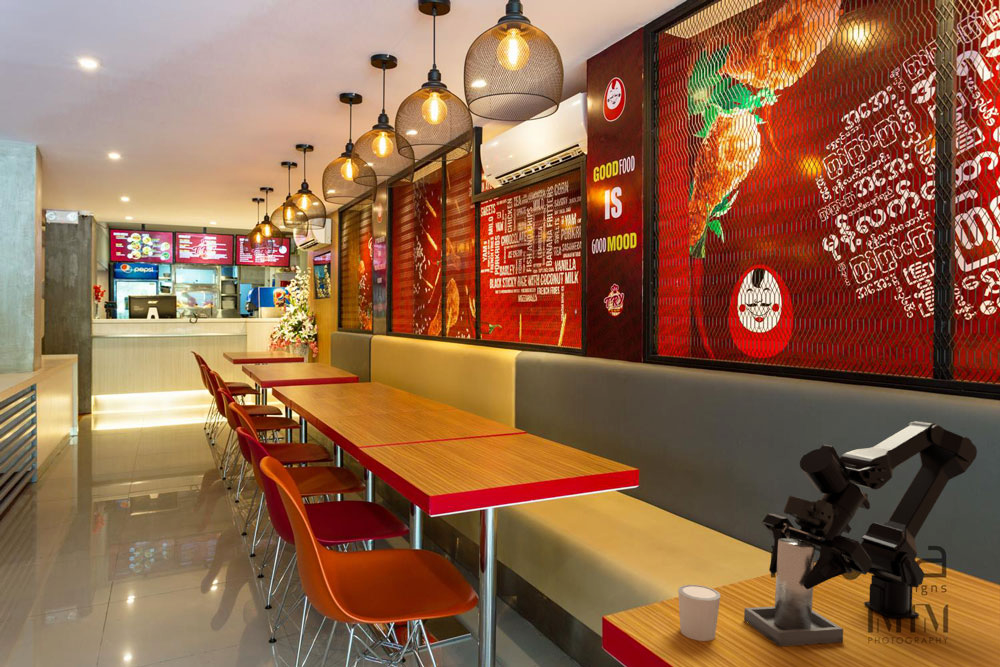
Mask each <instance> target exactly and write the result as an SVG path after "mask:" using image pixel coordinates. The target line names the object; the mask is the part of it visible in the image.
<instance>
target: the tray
mask: <svg viewBox="0 0 1000 667" xmlns="http://www.w3.org/2000/svg"><path fill="white" fill-rule="evenodd" d="M774 613H775V605H774V606H757V607H755V606H754V607H744V616H743V618H744V620H745V621H744V622H746V623H747V622H748V623H749V624H748V623H747V624H748V625H749V626H751V625H752V626H753V627H752V626H751V627H752V628H754V629H755V630H756V629H757V630H756V631H758V632H759V633H760V634H762V636H764V637H765V638H766V639H768V640H770V641H771V642H772V643H774V644H775V645H776V646H778V647H788V646H791V645H793V646H806V645H805V644H807V645H818V643H822V644H833V643H834V644H835V643H836V642H837V643H844V628H842V627H841V626H839V625H838V624H837V623H834V622H833V621H831V620H830V619H828V618H826V617H825V616H823V615H821V614H820V613H818V612H816V611H815V610H813V609H812V619H811V629H795V630H786V629H783V628H781V627H779V626H777V625H776V624H775V623H774ZM837 643H836V644H837ZM802 644H803V645H802Z"/></svg>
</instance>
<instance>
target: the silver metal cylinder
mask: <svg viewBox="0 0 1000 667" xmlns="http://www.w3.org/2000/svg"><path fill="white" fill-rule="evenodd" d="M815 554H816V547H815V545H813V544H811V543H809V542H805V541H801V540H796V539H786V538H784V539H779V540H778V555H777V572H776V574H775V575H776V578H775V579H776V580H775V598H774V606H775V613H774V623H775V624H776V625H777V626H779V627H781V628H783V629H786V630H795V629H811V619H812V610H813V596H814V595H813V594H814V593H813V592H814V587H812V588H810V589H806V588H805V587H804V585H803V584H804V582H805V580H806V578H807V576H808V575H809V573H810V571H811V570H812V568H813V567H814V565H815V559H816V558H815Z"/></svg>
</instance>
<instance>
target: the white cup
mask: <svg viewBox="0 0 1000 667" xmlns="http://www.w3.org/2000/svg"><path fill="white" fill-rule="evenodd" d="M677 591H678V593H677V594H678V609H679V611H678V612H679V627H680V633H681V634H682V635H683V636H685V637H686V638H688V639H691V640H695V641H698V642H699V641H700V642H708V641H712V640H714V639H715V638H716V633H717V632H716V631H717V626H718V625H717V623H718V618H719V609H720V603H721V602H720V601H721V593H720V592H719V591H717V590H715V589H714V588H712V587H708V586H705V585H699V584H686V585H685V584H684V585H681V586H679V588H678V590H677Z"/></svg>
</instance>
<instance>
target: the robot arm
mask: <svg viewBox="0 0 1000 667" xmlns="http://www.w3.org/2000/svg"><path fill="white" fill-rule="evenodd" d="M917 454H919V458H920V464H921V466H920V467H919V469H918V471H917V473H915V475H914V477H913V480H911V482H910V484H909V486H908V487H907V489H906V490H905V492H904V494H903V496H902V498H901V499H900V500H899V503H898V504H897V505H896V507H895V509H894V511H893V512H892V513H891V515H890V517H889V518H888V520H887V522H885V523H883V524H881V523H877V522H872V523H871V524H870V525H869V527H868V529H867V531H866V533H865V534H864V535H863V536H862V537H861V540H862V541H861V543H860V541H858V540H856V539H852V538H849V537H847V536H843V535H842V534H843V533H845V534H846V533H847V534H849V533H850V532H851V530H852V528H851V526H850V525H849V524H850V522H851V521H852V519H853V518H854V517H855V514H857V511H858V510H859V509H860V508H861V509H865V510H870V508H871V504H870V501H869V499H868V493H865V492H863V491H862V490H861V488H860V487H863V488H867V489H872V490H879V489H881V488H882V487H883V486H885V485H886V483H887V482H889V481H890V480H891V479H892V478H893V471H894V470H895V468H896V467H898V466H900V465H901V464H903V463H904V462H906V461H908V460H909V459H911V458H913V457H914V456H917ZM977 454H978V451H977V446H976V445H975V444H974V443H973V442H972V440H971V439H970V438H968V437H967V436H962V435H959V434H957V433H955V432H952V431H950V430H947V429H945V428H943V426H941V425H938V424H936V423H932V422H926V421H918V420H916V421H915V420H914V421H911V422H909V423H908V424H907V426H906V427H905V428H903V429H901V430H900V431H898V432H896V433H894V434H893V435H891V436H889V437H887V438H886V439H884V440H883V441H881V442H879V443H878V444H876V445H874V446H872V447H867V448H866V447H865V448H857V449H854V450H850V451H847V452H845V453H843V454H842V455H840V456H839V455H838V453H837V450H836V448H834V446H833V445H829V444H828V445H827V444H822V445H821V446H820V448H818V449H817V448H816V449H813V450H811V451H809V452H807V453H806V454H803V456H802V457H801V459H800V460H799V467H800V469H801V470H802V472H803V473H804V475H805V476H806V477H807V479H808V481H810V483H811V484H812V485H813V487H814V488H815V489H816V490H817V492H819V493H821V494H823V495H822V496H821V498H820V499H818V500H817V501H813V500H812V501H810V500H807V499H803V498H801V497H797V496H794V495H788V497H787V501H786V503H785V506H784V509H783V513H784V514H786V515H790V516H792V517H794V518H795V519H794V522H795V523H796V525H797V526H800V529H798V528H796V527H795V526H794V525H793V524H792V523H791V521H790V520H789V518H787V517H785V516H782V515H778V514H777V513H767V514H766V516H765V517H764V518H763V520H762V521H761V524H762V525H763V527H764V528H765V529H766V530H767V532H768V534H770V536H771V537H772V538H773V539H774V543H773V550H772V556H771V559H770V564H769V569H768V571H769V572H770V574H772V575H776V574H777V555H778V540H779V539H784V538H786V539H796V540H801V541H805V542H809V543H811V544H813V545H815V548H817V549H820V551H819V552H820V553H819V558H818V559H817V561H815V562H816V563H814V567H813V568H812V570H811V571H810V573H809V575H808V576H807V578H806V580H805V582H804V584H803V585H804V587H805V588H806V589H810V588H812V587H813V588H814V587H817V586H818V585H820V584H822V583H824V582H828V581H829V580H831V579H833V578H837V577H839V576H842V575H843V574H846V573H847V574H852V573H853V572H856V573H857V574H858V573H859V574H862V575H864V576H866V575H867V574H871V579H870V580H871V583H870V584H869V598H868V599H869V600H868V601H864V602H863V604H864V606H866V607H869V608H870V609H872V610H874V611H875V612H878V613H879V614H881V615H882V616H884V617H885V616H886V618H889V619H902V618H904V619H905V618H917V617H919V616H920V614H919V612H917V611H914V610H913V588H919V587H920V586H921V585H923V582H924V578H925V572H924V571H923V569H922V568H921V567H920V565H919V564H918V562H917V561H916V558H917V555H918V550H917V546H916V540H915V538H917V535H918V533H919V532H920V530H921V528H922V526H923V525H924V523H925V522H926V519H927V518H928V517H929V514H930V513H931V511H932V509H933V508H934V507H935V504H936V502H938V499H939V498H940V495H941V494H942V492H943V490H944V489H945V487H946V486H947V484H948V482H950V481H949V480H951V479H954V478H956V477H958V476H960V475H962V474H964V473H965V472H966V471H967V470H968V469H969V467H970V466H971V465H972V464H973V462H974V460H976V458H977Z"/></svg>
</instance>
